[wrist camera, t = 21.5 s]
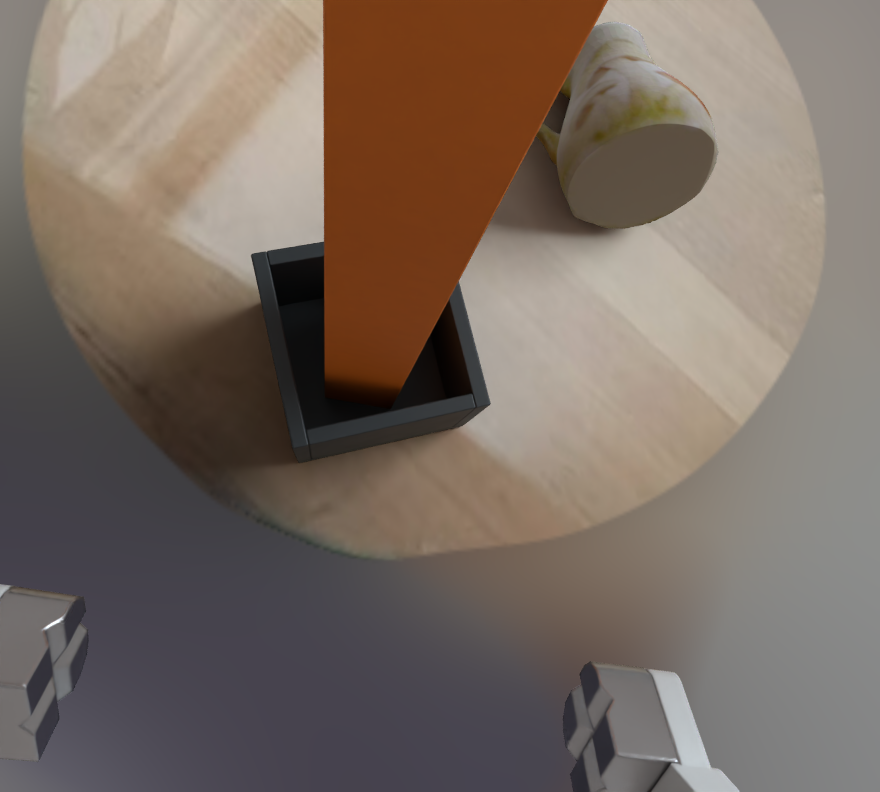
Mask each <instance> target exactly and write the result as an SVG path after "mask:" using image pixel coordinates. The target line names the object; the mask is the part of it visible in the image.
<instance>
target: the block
mask: <svg viewBox="0 0 880 792" xmlns="http://www.w3.org/2000/svg"><path fill="white" fill-rule="evenodd" d="M607 1H608V0H323V52H324V325H325V398H330V399H336V400H342V401H348V402H353V403H359V404H365V405H370V406H376V407H382V408H387V409H391V407H392V405H393V404H394V402H395V400H396V398H397V396H398V394H399V392H400V390H401V388H402V387H403V385H404V383H405V381H406V379H407V377H408V375H409V373H410V372H411V370H412V368H413V366H414V364H415V362H416V360H417V358H418V356H419V355H420V353H421V351H422V349H423V347H424V345H425V343H426V341H427V340H428V338H429V336H430V334H431V332H432V330H433V328H434V326H435V324H436V323H437V321H438V319H439V317H440V315H441V313H442V311H443V309H444V308H445V306H446V304H447V302H448V300H449V298H450V296H451V294H452V293H453V291H454V289H455V287H456V285H457V283H458V281H459V279H460V277H461V276H462V274H463V272H464V270H465V268H466V266H467V264H468V262H469V261H470V259H471V257H472V255H473V253H474V251H475V249H476V247H477V245H478V244H479V242H480V240H481V238H482V236H483V234H484V232H485V230H486V229H487V227H488V225H489V223H490V221H491V219H492V217H493V215H494V213H495V212H496V210H497V208H498V206H499V204H500V202H501V200H502V198H503V197H504V195H505V193H506V191H507V189H508V187H509V185H510V183H511V181H512V180H513V178H514V176H515V174H516V172H517V170H518V168H519V166H520V165H521V163H522V161H523V159H524V157H525V155H526V153H527V151H528V149H529V148H530V146H531V144H532V142H533V140H534V138H535V136H536V134H537V133H538V131H539V129H540V127H541V125H542V123H543V121H544V119H545V118H546V116H547V114H548V112H549V110H550V108H551V106H552V104H553V102H554V101H555V99H556V97H557V95H558V93H559V91H560V89H561V87H562V86H563V84H564V82H565V80H566V78H567V76H568V74H569V72H570V70H571V69H572V67H573V65H574V63H575V61H576V59H577V57H578V55H579V54H580V52H581V50H582V48H583V46H584V44H585V42H586V40H587V38H588V37H589V35H590V33H591V31H592V29H593V27H594V25H595V23H596V22H597V20H598V18H599V16H600V14H601V12H602V10H603V8H604V6H605V5H606V3H607Z"/></svg>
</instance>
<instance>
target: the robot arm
mask: <svg viewBox="0 0 880 792" xmlns="http://www.w3.org/2000/svg"><path fill="white" fill-rule="evenodd" d="M85 612H86V608H85V602H84V597H80V596H75V595H68V594H61V593H55V592H48V591H42V590H35V589H29V588H22V587H15V586H9V585H2V584H0V759H9V760H23V761H37V762H38V761H39V760H40V758H41V755H42V753H43V751H44V749H45V747H46V745H47V743H48V741H49V739H50V737H51V735H52V733H53V731H54V729H55V727H56V725H57V723H58V721H59V711H58V704H57V702H58V701H60V700H61V699H63V698H64V697H65V696H67V695H68V694H70V693H71V692H72V691H73V689H74V688H75V685H76V683H77V681H78V679H79V677H80V674H81V672H82V669H83V665H84V662H85V659H86V655H87V649H88V630H87V629H86V628H85V627H84V626H83V625H82V624H81V623H80V622H81V620H82V618H83V616H84V614H85ZM580 679H581V685H580V686H578V687H576V688H574V689H572V690H571V692H570V694H569V696H568V698H567V700H566V702H565V709H564V715H563V733H564V739H565V746H566V748H567V750H568V751H569V752H570V754H571V755H572V756H573V757H574V759H575V760H576V761H577V763H576V765H575V767H574V768H573V770H572V772H571V774H570V776H571V781H572V787H573V792H740V791H739V790H738V789H737V788H736V786H735V785H734V784H733V783H732V782H731V781H730V780H729V779H728V778H727V777H726V775H725V774H724V773H723V772H722V771H721V770H720V769H717V768H711V766H710V763H709V760H708V758H707V754H706V751H705V749H704V746H703V743H702V740H701V737H700V734H699V731H698V729H697V726H696V723H695V720H694V717H693V714H692V711H691V709H690V706H689V703H688V700H687V697H686V694H685V692H684V688H683V686H682V683H681V680H680V678H679V677H678V676H677V674H676V673H674V672H668V671H660V670H651V669H644V668H641V667H633V666H624V665H616V664H606V663H598V662H589V663H587V664H585V665H584V667H583V669H582V671H581V672H580Z"/></svg>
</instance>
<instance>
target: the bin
mask: <svg viewBox="0 0 880 792" xmlns="http://www.w3.org/2000/svg"><path fill="white" fill-rule="evenodd" d="M251 257H252V262H253V266H254V271H255V276H256V280H257V285H258V290H259V294H260V299H261V304H262V308H263V313H264V318H265V322H266V327H267V332H268V337H269V341H270V346H271V351H272V355H273V360H274V365H275V369H276V374H277V379H278V383H279V388H280V393H281V397H282V402H283V407H284V411H285V416H286V421H287V425H288V430H289V435H290V439H291V444H292V448H293V451H294V453H295V456H296V458H297V461H298V463H302V462H307V461H311V460H316V459H320V458H324V457H329V456H333V455H338V454H342V453H346V452H351V451H355V450H360V449H364V448H368V447H373V446H377V445H381V444H386V443H390V442H395V441H399V440H403V439H408V438H412V437H417V436H421V435H425V434H430V433H434V432H438V431H443V430H447V429H452V428H456V427H460V426H463V425H464V424H466V423H467V422H468V421H470V420H471V419H472V418H474V417H475V416H476V415H477V414H479V413H480V412H481V411H483V410H484V409H485V408H486V407H488V406H489V405H490V404H491V403H490V400H489V396H488V392H487V388H486V384H485V380H484V377H483V373H482V369H481V365H480V361H479V357H478V354H477V350H476V346H475V342H474V338H473V334H472V331H471V327H470V323H469V319H468V315H467V311H466V308H465V304H464V300H463V296H462V292H461V288H460V285H459V281H458V283H457V285H456V287H455V289H454V291H453V293H452V294H451V296H450V298H449V300H448V302H447V304H446V306H445V308H444V309H443V311H442V313H441V315H440V317H439V319H438V321H437V323H436V324H435V326H434V328H433V330H432V332H431V334H430V336H429V338H428V340H427V341H426V343H425V345H424V347H423V349H422V351H421V353H420V355H419V356H418V358H417V360H416V362H415V364H414V366H413V368H412V370H411V372H410V373H409V375H408V377H407V379H406V381H405V383H404V385H403V387H402V388H401V390H400V392H399V394H398V396H397V398H396V400H395V402H394V404H393V405H392V407H391V409H387V408H382V407H376V406H370V405H365V404H359V403H353V402H348V401H342V400H336V399H330V398H325V325H324V242H319V243H313V244H307V245H301V246H295V247H289V248H283V249H277V250H271V251H267V252H260V253H254V254H252V255H251Z"/></svg>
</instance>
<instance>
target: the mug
mask: <svg viewBox="0 0 880 792" xmlns="http://www.w3.org/2000/svg"><path fill="white" fill-rule="evenodd" d="M560 91H561V92H562V93H563V95H565V96H566V97H568V98H569V99H570V102H569V106H568V109H567V112H566V115H565V119H564V122H563V126H562V130H561V133H560V134H558V133H555V132H554V131H552V130H551V129H550V128H549V127H548V126H547V125H546V124H544V123H542V125H541V127H540V129H539V131H538V133H537V134H536V137H537V138H538V139H539V140H540V141H541V143H542V144H543V145H544V147H545V149H546V151H547V152H548V154H549V156H550V159H551V161H552V162H553V163H554V164H555V165H556V166H557V170H558V177H559V181H560V185H561V188H562V191H563V193H564V195H565V197H566V199H567V201H568V204H569V206H570V209H571V212H572V214H573V215H574V216H575V217H576V218H578V219H581V220H584V221H586V222H589V223H593V224H596V225H598V226H601V227H604V228H629V227H634V226H639V225H643V224H646V223H651V222H652V221H655V220H657V219H659V218H661V217H664V216H666V215H668V214H670V213H672V212H673V211H675V210H676V209H678V208H679V207H681V206H683V205H684V204H686V203H687V202H689V201H690V200H691V199H693V198H694V197H695V196H696V195H697V194H698V193H699V192H700V191H701V190H702V188H703V187H704V185H705V183H706V182H707V180H708V179H709V177H710V175H711V173H712V171H713V169H714V166H715V164H716V160H717V155H718V145H717V141H716V134H715V129H714V125H713V121H712V118H711V116H710V114H709V112H708V110H707V109H706V107H705V105H704V104H703V102H702V101H701V100H700V99H699V98H698V97H697V95H696V94H695V93H694V92H693V91H692V90H690V89H689V88H688V87H687V86H686V85H684V84H683V83H682V82H680V81H679V80H677V79H676V78H674V77H673V76H672V75H670V74H669V73H667V72H666V71H664V70H663V69H661V68H660V67H659V66H658V65H656V64H655V63H654V61H653V60H652V58H651V56H650V54H649V52H648V49H647V47H646V44H645V42H644V38H643V36H642V35H641V33H640V32H639V31H638V30H636V29H635V28H633V27H632V26H630V25H628V24H624V23H619V22H608V23H603V24H600V25H597V26H595V27H593V29H592V31H591V33H590V35H589V37H588V38H587V40H586V42H585V44H584V46H583V48H582V50H581V52H580V54H579V55H578V57H577V59H576V61H575V63H574V65H573V67H572V69H571V70H570V72H569V74H568V76H567V78H566V80H565V82H564V84H563V86H562V87H561V89H560Z"/></svg>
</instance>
